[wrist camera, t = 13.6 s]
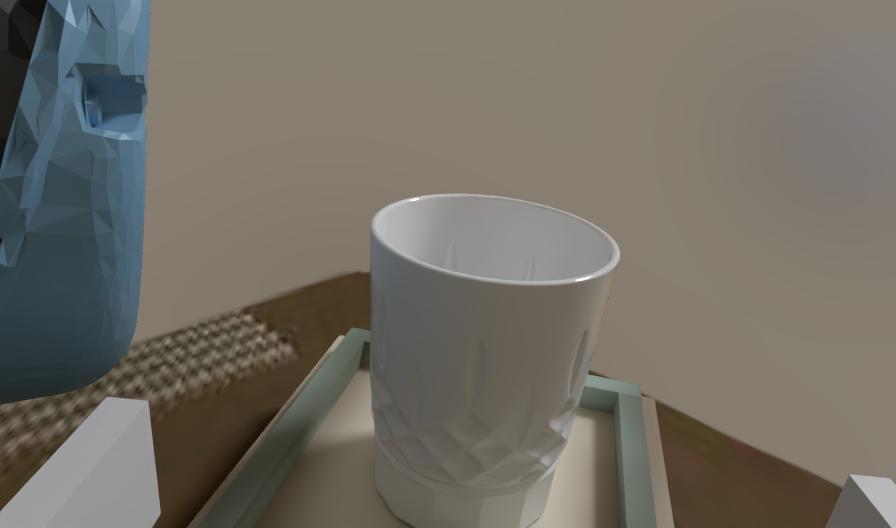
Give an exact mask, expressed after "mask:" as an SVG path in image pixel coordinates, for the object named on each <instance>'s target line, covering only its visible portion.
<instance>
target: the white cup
mask: <svg viewBox="0 0 896 528" xmlns="http://www.w3.org/2000/svg"><path fill="white" fill-rule="evenodd" d="M370 234H371V235H370V250H371V251H370V385H371V397H372V402H371V415H372V417H373V421H374V432H375V487H376V489H377V490H378V492H379V493H380V494H381V496H382V497H383V499H384V500H385V502H386V503H387V505H388V506H389V508H390V509H391V511H392V512H393V514H394V515H395V516H396V517H397V518H399V519H401V520H402V521H404V522H406V523H407V524H409V525H411V526H412V527H414V528H527V527H528V526H529V525H530V524H532V523H533V522H534V521H535V520H536V519H538V518H539V517H540V516H541V515H543V513H544V511H545V507H546V504H547V500H548V497H549V493H550V490H551V486H552V483H553V479H554V475H555V471H556V467H557V465H558V462H559V460H560V457H561V453H562V451H563V450H564V448H565V447H566V445H567V443H568V440H569V436H570V432H571V428H572V425H573V422H574V420H575V417H576V414H577V411H578V409H579V404H580V400H581V397H582V393H583V389H584V385H585V382H586V378H587V374H588V371H589V367H590V363H591V360H592V356H593V353H594V350H595V347H596V342H597V339H598V335H599V331H600V328H601V324H602V321H603V317H604V313H605V310H606V306H607V303H608V299H609V295H610V292H611V288H612V284H613V281H614V277H615V274H616V270H617V267H618V263H619V259H620V250H619V248H618V245H617V244H616V242H615V241H614V240H613V239H612V238H611V237H610V236H609V235H608V234H607V233H606V232H604V231H603V230H602V229H600V228H599V227H597V226H596V225H594V224H592V223H590V222H588V221H586V220H584V219H582V218H580V217H578V216H575V215H573V214H570V213H567V212H564V211H562V210H559V209H555V208H552V207H548V206H545V205H541V204H537V203H533V202H528V201H523V200H518V199H512V198H506V197H498V196H489V195H477V194H437V195H426V196H419V197H413V198H408V199H405V200H401V201H398V202H395V203H392V204H390V205H388V206H386V207H384V208H382V209H381V210H380V211H378V212H377V213H376V214H375V215H374V217H373V218H372V220H371V224H370Z"/></svg>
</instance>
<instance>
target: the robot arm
mask: <svg viewBox="0 0 896 528" xmlns="http://www.w3.org/2000/svg"><path fill="white" fill-rule="evenodd" d="M150 24H151V0H0V404H6V403H12V402H17V401H23V400H29V399H35V398H41V397H46V396H52V395H58V394H63V393H68V392H72V391H75V390H78V389H81V388H83V387H86V386H88V385H90V384H92V383H94V382H95V381H97V380H99V379H100V378H102V377H103V376H104V375H106V374H107V373H108V372H109V371H110V370H111V369H112V368H113V367H114V366H115V365H116V364H117V363H118V362H119V361H120V359H121V358H122V357H123V356H124V355H125V353H126V351H127V349H128V347H129V346H130V343H131V341H132V338H133V335H134V332H135V328H136V322H137V313H138V306H139V296H140V283H141V269H142V253H143V232H144V209H145V185H146V184H145V182H146V123H145V107H146V105H147V103H148V99H147V90H148V57H149V50H150ZM160 514H161V512H160V503H159V494H158V485H157V476H156V467H155V458H154V449H153V440H152V431H151V422H150V413H149V404H148V401H143V400H133V399H124V398H114V397H107V398H106V399H105V400H104V401H103V402H102V403H101V404H100V405H99V406H98V407H97V408H96V409H95V410H94V411H93V413H92V414H91V415H90V416H89V417H88V418H87V419H86V420H85V421H84V422H83V423H82V424H81V425H80V426H79V428H78V429H77V430H76V431H75V432H74V433H73V434H72V435H71V436H70V437H69V438H68V439H67V440H66V441H65V443H64V444H63V445H62V446H61V447H60V448H59V449H58V450H57V451H56V452H55V453H54V454H53V455H52V457H51V458H50V459H49V460H48V461H47V462H46V463H45V464H44V465H43V466H42V467H41V468H40V469H39V470H38V472H37V473H36V474H35V475H34V476H33V477H32V478H31V479H30V480H29V481H28V482H27V483H26V484H25V485H24V487H23V488H22V489H21V490H20V491H19V492H18V493H17V494H16V495H15V496H14V497H13V498H12V499H11V501H10V502H9V503H8V504H7V505H6V506H5V507H4V508H3V509H2V510H1V511H0V528H152V527H153V525H154V524H155V522H156V520H157V519H158V517H159V515H160ZM826 528H896V485H895V484H894V483H893V481H892V480H891V479H889V478H880V477H870V476H860V475H851V474H850V475H849V476H848V478H847V480H846V483H845V485H844V487H843V489H842V492H841V494H840V496H839V498H838V501H837V503H836V505H835V507H834V510H833V512H832V514H831V516H830V519H829V521H828V523H827V525H826Z"/></svg>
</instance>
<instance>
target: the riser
mask: <svg viewBox="0 0 896 528" xmlns="http://www.w3.org/2000/svg"><path fill="white" fill-rule="evenodd" d="M371 402H372V397H371V385H370V331H367V330H362V329H357V328H351V329H350V331H349V332H348V333H347V335H346V336H341V335H340V336H339V337H338V338H337V339H336V341H335V342H334V343H333V344H332V346H331V347H330V348H329V350H328V351H327V352H326V353H325V355H324V356H323V357H322V358H321V360H320V361H319V362H318V363H317V365H316V366H315V367H314V368H313V370H312V371H311V372H310V373H309V375H308V376H307V377H306V378H305V380H304V381H303V382H302V383H301V385H300V386H299V387H298V388H297V390H296V391H295V392H294V393H293V395H292V396H291V397H290V399H289V400H288V401H287V402H286V404H285V405H284V406H283V407H282V409H281V410H280V411H279V412H278V414H277V415H276V416H275V417H274V419H273V420H272V421H271V422H270V424H269V425H268V426H267V427H266V429H265V430H264V431H263V432H262V434H261V435H260V436H259V437H258V439H257V440H256V441H255V442H254V444H253V445H252V446H251V447H250V449H249V450H248V451H247V453H246V454H245V455H244V456H243V458H242V459H241V460H240V461H239V463H238V464H237V465H236V466H235V468H234V469H233V470H232V471H231V473H230V474H229V475H228V476H227V478H226V479H225V480H224V481H223V483H222V484H221V485H220V486H219V488H218V489H217V490H216V491H215V493H214V494H213V495H212V496H211V498H210V499H209V500H208V501H207V503H206V504H205V505H204V507H203V508H202V509H201V510H200V512H199V513H198V514H197V515H196V517H195V518H194V519H193V520H192V522H191V523H190V524H189V525H188V527H187V528H414V527H412V526H411V525H409V524H407V523H406V522H404V521H402V520H401V519H399V518H397V517H396V516H395V515H394V514H393V512H392V511H391V509H390V508H389V506H388V505H387V503H386V502H385V500H384V499H383V497H382V496H381V494H380V493H379V492H378V490H377V489H376V487H375V432H374V421H373V417H372V415H371ZM527 528H674V523H673V517H672V510H671V504H670V497H669V491H668V484H667V478H666V471H665V465H664V458H663V452H662V445H661V439H660V432H659V426H658V419H657V413H656V406H655V400H654V399H652V398H647V397H643V396H641V390H640V385H638V384H632V383H627V382H623V381H618V380H613V379H607V378H602V377H597V376H592V375H587V378H586V382H585V385H584V389H583V393H582V397H581V400H580V404H579V409H578V411H577V414H576V417H575V420H574V422H573V425H572V428H571V432H570V436H569V440H568V443H567V445H566V447H565V448H564V450H563V451H562V453H561V457H560V460H559V462H558V465H557V467H556V471H555V475H554V479H553V483H552V486H551V490H550V493H549V497H548V500H547V504H546V507H545V511H544V513H543V515H541V516H540V517H539V518H538V519H536V520H535V521H534V522H533V523H532V524H530V525H529V526H528V527H527Z"/></svg>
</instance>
